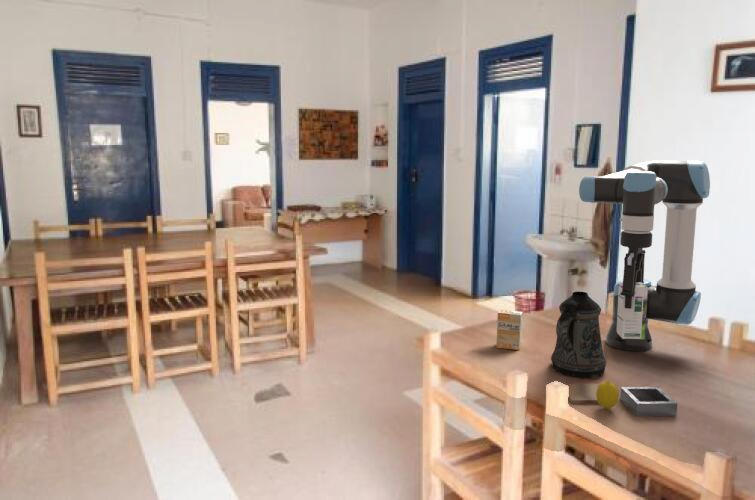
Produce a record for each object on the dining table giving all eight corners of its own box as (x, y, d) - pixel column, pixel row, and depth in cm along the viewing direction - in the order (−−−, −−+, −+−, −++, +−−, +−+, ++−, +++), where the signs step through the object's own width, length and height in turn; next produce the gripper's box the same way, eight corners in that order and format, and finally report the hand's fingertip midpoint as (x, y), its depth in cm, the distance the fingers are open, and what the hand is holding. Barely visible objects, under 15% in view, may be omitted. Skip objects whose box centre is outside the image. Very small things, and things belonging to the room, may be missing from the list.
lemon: (591, 405, 155) (593, 377, 154) (611, 404, 156) (613, 376, 154) (601, 414, 150) (603, 385, 149) (621, 413, 150) (623, 384, 149)
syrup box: (622, 339, 151) (625, 286, 148) (615, 332, 156) (618, 280, 154) (644, 339, 150) (648, 286, 147) (637, 332, 156) (641, 281, 153)
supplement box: (495, 348, 201) (496, 312, 198) (498, 343, 205) (499, 308, 203) (519, 350, 197) (520, 314, 195) (521, 346, 202) (522, 310, 200)
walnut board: (597, 386, 167) (597, 383, 167) (612, 403, 156) (612, 399, 156) (559, 387, 167) (559, 384, 167) (571, 403, 156) (572, 400, 156)
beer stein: (604, 362, 186) (608, 288, 181) (607, 385, 168) (612, 304, 163) (551, 357, 191) (554, 285, 187) (549, 379, 173) (552, 300, 169)
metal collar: (657, 398, 159) (658, 386, 158) (676, 415, 148) (677, 403, 148) (620, 398, 159) (620, 387, 158) (636, 416, 149) (637, 403, 148)
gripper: (629, 225, 158) (625, 304, 162) (611, 235, 142) (607, 323, 146) (659, 227, 154) (653, 308, 158) (644, 237, 138) (638, 328, 142)
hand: (631, 315), depth 152 cm, fingers closed on syrup box, 7 cm apart
